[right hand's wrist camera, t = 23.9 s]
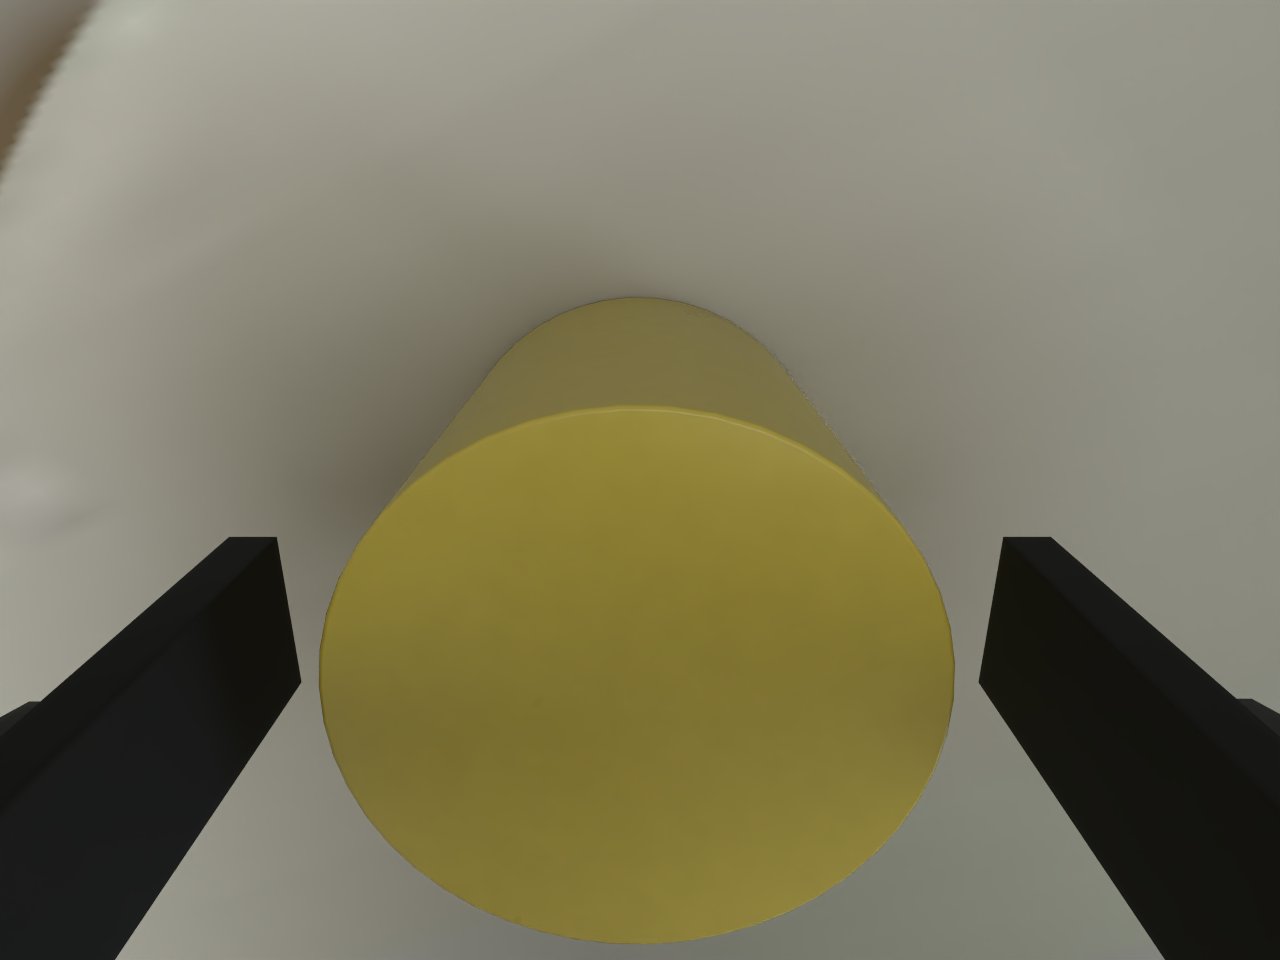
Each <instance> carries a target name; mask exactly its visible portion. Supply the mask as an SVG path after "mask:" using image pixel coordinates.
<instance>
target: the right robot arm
mask: <svg viewBox="0 0 1280 960" xmlns="http://www.w3.org/2000/svg"><path fill="white" fill-rule="evenodd" d="M300 684H301V677H300V671H299V665H298V659H297V653H296V647H295V642H294V636H293V630H292V624H291V618H290V612H289V606H288V601H287V595H286V589H285V583H284V577H283V571H282V565H281V560H280V554H279V548H278V542H277V537H229V538H227V539H226V540H225V541H224V542H223V543H222V544H221V545H219V546H218V547H217V548H216V549H215V550H214V551H213V552H211V553H210V554H209V555H208V556H207V557H206V558H205V559H203V560H202V561H201V562H200V563H199V564H198V565H196V566H195V567H194V568H193V569H192V570H191V571H190V572H188V573H187V574H186V575H185V576H184V577H183V578H182V579H180V580H179V581H178V582H177V583H176V584H175V585H174V586H172V587H171V588H170V589H169V590H168V591H167V592H166V593H164V594H163V595H162V596H161V597H160V598H159V599H158V600H156V601H155V602H154V603H153V604H152V605H151V606H149V607H148V608H147V609H146V610H145V611H144V612H143V613H141V614H140V615H139V616H138V617H137V618H136V619H135V620H133V621H132V622H131V623H130V624H129V625H128V626H127V627H125V628H124V629H123V630H122V631H121V632H120V633H119V634H117V635H116V636H115V637H114V638H113V639H112V640H111V641H109V642H108V643H107V644H106V645H105V646H104V647H102V648H101V649H100V650H99V651H98V652H97V653H96V654H94V655H93V656H92V657H91V658H90V659H89V660H88V661H86V662H85V663H84V664H83V665H82V666H81V667H80V668H78V669H77V670H76V671H75V672H74V673H73V674H72V675H70V676H69V677H68V678H67V679H66V680H65V681H63V682H62V683H61V684H60V685H59V686H58V687H57V688H55V689H54V690H53V691H52V692H51V693H50V694H49V695H47V696H46V697H45V698H44V699H43V700H42V701H41V702H28V703H26V704H24V705H22V706H20V707H18V708H17V709H15V710H13V711H11V712H9V713H7V714H6V715H4V716H2V717H0V960H115V959H116V957H117V956H118V954H119V953H120V951H121V950H122V948H123V947H124V945H125V944H126V942H127V941H128V940H129V938H130V937H131V935H132V934H133V932H134V931H135V929H136V928H137V926H138V925H139V923H140V922H141V920H142V919H143V917H144V916H145V914H146V913H147V911H148V910H149V908H150V907H151V905H152V904H153V902H154V901H155V899H156V898H157V896H158V895H159V893H160V892H161V890H162V889H163V887H164V886H165V884H166V883H167V882H168V880H169V879H170V877H171V876H172V874H173V873H174V871H175V870H176V868H177V867H178V865H179V864H180V862H181V861H182V859H183V858H184V856H185V855H186V853H187V852H188V850H189V849H190V847H191V846H192V844H193V843H194V841H195V840H196V838H197V837H198V835H199V834H200V832H201V831H202V829H203V828H204V826H205V825H206V823H207V822H208V821H209V819H210V818H211V816H212V815H213V813H214V812H215V810H216V809H217V807H218V806H219V804H220V803H221V801H222V800H223V798H224V797H225V795H226V794H227V792H228V791H229V789H230V788H231V786H232V785H233V783H234V782H235V780H236V779H237V777H238V776H239V774H240V773H241V771H242V770H243V768H244V767H245V765H246V764H247V763H248V761H249V760H250V758H251V757H252V755H253V754H254V752H255V751H256V749H257V748H258V746H259V745H260V743H261V742H262V740H263V739H264V737H265V736H266V734H267V733H268V731H269V730H270V728H271V727H272V725H273V724H274V722H275V721H276V719H277V718H278V716H279V715H280V713H281V712H282V710H283V709H284V707H285V706H286V704H287V703H288V702H289V700H290V699H291V697H292V696H293V694H294V693H295V691H296V690H297V688H298V687H299V685H300ZM979 684H980V685H981V687H982V688H983V690H984V691H985V693H986V694H987V696H988V697H989V699H990V700H991V702H992V703H993V704H994V706H995V707H996V709H997V710H998V712H999V713H1000V715H1001V716H1002V718H1003V719H1004V721H1005V722H1006V724H1007V725H1008V727H1009V728H1010V730H1011V731H1012V733H1013V734H1014V736H1015V737H1016V739H1017V740H1018V742H1019V743H1020V745H1021V746H1022V748H1023V749H1024V751H1025V752H1026V754H1027V755H1028V757H1029V758H1030V760H1031V761H1032V762H1033V764H1034V765H1035V767H1036V768H1037V770H1038V771H1039V773H1040V774H1041V776H1042V777H1043V779H1044V780H1045V782H1046V783H1047V785H1048V786H1049V788H1050V789H1051V791H1052V792H1053V794H1054V795H1055V797H1056V798H1057V800H1058V801H1059V803H1060V804H1061V806H1062V807H1063V809H1064V810H1065V812H1066V813H1067V815H1068V816H1069V818H1070V819H1071V821H1072V822H1073V823H1074V825H1075V826H1076V828H1077V829H1078V831H1079V832H1080V834H1081V835H1082V837H1083V838H1084V840H1085V841H1086V843H1087V844H1088V846H1089V847H1090V849H1091V850H1092V852H1093V853H1094V855H1095V856H1096V858H1097V859H1098V861H1099V862H1100V864H1101V865H1102V867H1103V868H1104V870H1105V871H1106V873H1107V874H1108V876H1109V877H1110V879H1111V880H1112V881H1113V883H1114V884H1115V886H1116V887H1117V889H1118V890H1119V892H1120V893H1121V895H1122V896H1123V898H1124V899H1125V901H1126V902H1127V904H1128V905H1129V907H1130V908H1131V910H1132V911H1133V913H1134V914H1135V916H1136V917H1137V919H1138V920H1139V922H1140V923H1141V925H1142V926H1143V928H1144V929H1145V931H1146V932H1147V934H1148V935H1149V937H1150V938H1151V940H1152V941H1153V942H1154V944H1155V945H1156V947H1157V948H1158V950H1159V951H1160V953H1161V954H1162V956H1163V957H1164V959H1165V960H1280V714H1279V713H1277V712H1275V711H1273V710H1271V709H1270V708H1268V707H1266V706H1264V705H1262V704H1260V703H1258V702H1257V701H1255V700H1253V699H1236V698H1235V697H1234V696H1233V695H1231V694H1230V693H1229V692H1228V691H1227V690H1226V689H1225V688H1223V687H1222V686H1221V685H1220V684H1219V683H1218V682H1217V681H1215V680H1214V679H1213V678H1212V677H1211V676H1210V675H1208V674H1207V673H1206V672H1205V671H1204V670H1203V669H1202V668H1200V667H1199V666H1198V665H1197V664H1196V663H1195V662H1194V661H1192V660H1191V659H1190V658H1189V657H1188V656H1187V655H1186V654H1184V653H1183V652H1182V651H1181V650H1180V649H1179V648H1178V647H1176V646H1175V645H1174V644H1173V643H1172V642H1171V641H1170V640H1168V639H1167V638H1166V637H1165V636H1164V635H1163V634H1161V633H1160V632H1159V631H1158V630H1157V629H1156V628H1155V627H1153V626H1152V625H1151V624H1150V623H1149V622H1148V621H1147V620H1145V619H1144V618H1143V617H1142V616H1141V615H1140V614H1139V613H1137V612H1136V611H1135V610H1134V609H1133V608H1132V607H1131V606H1129V605H1128V604H1127V603H1126V602H1125V601H1124V600H1123V599H1121V598H1120V597H1119V596H1118V595H1117V594H1116V593H1114V592H1113V591H1112V590H1111V589H1110V588H1109V587H1108V586H1106V585H1105V584H1104V583H1103V582H1102V581H1101V580H1100V579H1098V578H1097V577H1096V576H1095V575H1094V574H1093V573H1092V572H1090V571H1089V570H1088V569H1087V568H1086V567H1085V566H1084V565H1082V564H1081V563H1080V562H1079V561H1078V560H1077V559H1075V558H1074V557H1073V556H1072V555H1071V554H1070V553H1069V552H1067V551H1066V550H1065V549H1064V548H1063V547H1062V546H1061V545H1059V544H1058V543H1057V542H1056V541H1055V540H1054V539H1053V538H1051V537H1003V542H1002V548H1001V554H1000V560H999V566H998V571H997V577H996V583H995V589H994V595H993V601H992V607H991V612H990V618H989V624H988V630H987V636H986V642H985V648H984V653H983V659H982V665H981V671H980V677H979Z"/></svg>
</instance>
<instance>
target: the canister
mask: <svg viewBox="0 0 1280 960" xmlns="http://www.w3.org/2000/svg"><path fill="white" fill-rule="evenodd" d="M954 672H955V661H954V653H953V645H952V637H951V629H950V625H949V621H948V618H947V614H946V611H945V607H944V604H943V600H942V597H941V593H940V591H939V588H938V586H937V584H936V582H935V580H934V578H933V576H932V573H931V571H930V569H929V567H928V565H927V563H926V561H925V558H924V557H923V555H922V554H921V552H920V551H919V549H918V548H917V546H916V545H915V543H914V542H913V540H912V539H911V537H910V536H909V534H908V533H907V531H906V530H905V528H904V527H903V525H902V524H901V522H900V521H899V520H898V519H897V517H896V516H895V515H894V513H893V512H892V511H891V509H890V508H889V507H888V505H887V504H886V503H885V501H884V500H883V499H882V497H881V496H880V495H879V493H878V492H877V491H876V489H875V488H874V487H873V486H872V484H871V483H870V482H869V480H868V479H867V478H866V476H865V475H864V474H863V472H862V471H861V470H860V468H859V467H858V466H857V464H856V463H855V462H854V460H853V459H852V458H851V456H850V455H849V454H848V452H847V451H846V450H845V449H844V447H843V446H842V445H841V443H840V442H839V441H838V439H837V438H836V437H835V435H834V434H833V433H832V431H831V430H830V429H829V427H828V426H827V425H826V423H825V422H824V421H823V419H822V418H821V417H820V416H819V414H818V413H817V412H816V410H815V409H814V408H813V406H812V405H811V404H810V402H809V401H808V400H807V398H806V397H805V396H804V394H803V393H802V392H801V390H800V389H799V388H798V386H797V385H796V384H795V383H794V381H793V380H792V379H791V377H790V376H789V375H788V373H787V372H786V371H785V369H784V368H783V367H782V365H781V364H780V363H779V362H778V361H777V360H776V359H775V358H774V357H773V355H772V354H771V353H770V352H769V351H768V350H767V349H766V348H765V347H764V346H763V345H762V344H760V343H759V342H758V341H757V340H756V339H754V338H753V337H752V336H751V335H750V334H748V333H747V332H746V331H744V330H742V329H741V328H739V327H738V326H736V325H734V324H733V323H731V322H730V321H728V320H726V319H724V318H722V317H720V316H717V315H715V314H713V313H711V312H709V311H706V310H704V309H701V308H698V307H694V306H691V305H688V304H684V303H681V302H675V301H669V300H663V299H657V298H623V299H614V300H605V301H601V302H597V303H593V304H589V305H585V306H581V307H578V308H576V309H573V310H570V311H568V312H565V313H563V314H560V315H558V316H556V317H554V318H552V319H551V320H549V321H547V322H545V323H543V324H542V325H540V326H538V327H536V328H535V329H534V330H532V331H531V332H530V333H528V334H527V335H526V336H524V337H523V338H522V339H520V340H519V341H518V342H517V343H516V344H515V345H514V346H513V347H512V348H511V349H510V350H509V351H508V352H507V353H506V354H505V355H504V356H503V357H502V358H501V359H500V360H499V361H498V362H497V364H496V365H495V366H494V368H493V369H492V370H491V371H490V373H489V374H488V375H487V377H486V378H485V379H484V380H483V382H482V383H481V384H480V386H479V387H478V388H477V389H476V391H475V392H474V393H473V395H472V396H471V397H470V398H469V400H468V401H467V402H466V404H465V405H464V406H463V407H462V409H461V410H460V411H459V413H458V414H457V415H456V417H455V418H454V419H453V420H452V422H451V423H450V424H449V426H448V427H447V428H446V429H445V431H444V432H443V433H442V435H441V436H440V437H439V438H438V440H437V441H436V442H435V444H434V445H433V446H432V447H431V449H430V450H429V451H428V453H427V454H426V455H425V456H424V458H423V459H422V460H421V462H420V463H419V464H418V466H417V467H416V468H415V469H414V471H413V472H412V473H411V475H410V476H409V477H408V478H407V480H406V481H405V482H404V484H403V485H402V486H401V487H400V489H399V490H398V491H397V493H396V494H395V495H394V496H393V498H392V499H391V500H390V502H389V503H388V504H387V505H386V507H385V508H384V509H383V511H382V512H381V513H380V515H379V516H378V517H377V519H376V520H375V521H374V523H373V524H372V525H371V526H370V528H369V529H368V530H367V532H366V533H365V534H364V536H363V537H362V538H361V540H360V541H359V542H358V544H357V545H356V547H355V549H354V551H353V553H352V555H351V557H350V558H349V560H348V562H347V564H346V566H345V568H344V570H343V571H342V573H341V575H340V577H339V579H338V582H337V585H336V588H335V590H334V593H333V596H332V599H331V602H330V605H329V607H328V610H327V613H326V618H325V624H324V629H323V635H322V640H321V646H320V661H319V690H320V698H321V705H322V713H323V721H324V725H325V728H326V732H327V735H328V739H329V742H330V746H331V749H332V752H333V756H334V758H335V760H336V762H337V765H338V767H339V769H340V771H341V773H342V776H343V778H344V780H345V782H346V784H347V787H348V788H349V790H350V791H351V793H352V795H353V796H354V798H355V799H356V801H357V803H358V804H359V806H360V807H361V809H362V810H363V812H364V814H365V815H366V817H367V818H368V819H369V820H370V821H371V823H372V824H373V825H374V826H375V827H376V829H377V830H378V831H379V832H380V833H381V835H382V836H383V837H384V838H385V839H386V841H387V842H388V843H389V844H390V845H391V846H392V847H393V848H394V849H395V850H396V851H397V852H399V853H400V854H401V855H402V856H403V857H404V858H405V859H406V860H407V861H408V862H409V863H410V864H411V865H412V866H414V867H415V868H416V869H417V870H419V871H420V872H421V873H423V874H424V875H426V876H427V877H428V878H430V879H431V880H432V881H434V882H435V883H436V884H438V885H439V886H440V887H442V888H443V889H445V890H447V891H448V892H450V893H452V894H454V895H455V896H457V897H459V898H461V899H462V900H464V901H466V902H468V903H469V904H471V905H473V906H475V907H477V908H479V909H482V910H484V911H486V912H488V913H491V914H493V915H495V916H497V917H500V918H502V919H504V920H506V921H509V922H513V923H516V924H519V925H522V926H525V927H528V928H531V929H534V930H537V931H540V932H545V933H549V934H554V935H559V936H563V937H568V938H572V939H578V940H587V941H595V942H604V943H614V944H657V943H669V942H682V941H689V940H695V939H700V938H706V937H712V936H717V935H722V934H725V933H729V932H733V931H736V930H740V929H743V928H747V927H750V926H754V925H757V924H759V923H762V922H764V921H767V920H769V919H772V918H774V917H777V916H779V915H782V914H785V913H787V912H789V911H791V910H793V909H795V908H797V907H799V906H801V905H803V904H805V903H806V902H808V901H810V900H812V899H814V898H816V897H818V896H820V895H821V894H823V893H824V892H826V891H827V890H829V889H830V888H832V887H833V886H835V885H836V884H838V883H839V882H841V881H842V880H844V879H845V878H847V877H848V876H850V875H851V874H852V873H853V872H854V871H855V870H857V869H858V868H859V867H860V866H861V865H862V864H864V863H865V862H866V861H867V860H868V859H869V858H871V857H872V856H873V855H874V854H875V853H876V852H877V851H878V850H879V849H880V848H881V847H882V846H883V845H884V844H885V842H886V841H887V840H888V839H889V838H890V837H891V836H892V835H893V834H894V833H895V832H896V830H897V829H898V828H899V827H900V826H901V824H902V823H903V822H904V820H905V819H906V817H907V816H908V814H909V813H910V812H911V810H912V809H913V807H914V806H915V805H916V803H917V802H918V800H919V799H920V797H921V795H922V793H923V791H924V789H925V787H926V785H927V783H928V782H929V780H930V778H931V776H932V774H933V772H934V770H935V768H936V765H937V762H938V759H939V757H940V754H941V751H942V748H943V745H944V742H945V739H946V736H947V732H948V727H949V722H950V716H951V711H952V706H953V700H954Z"/></svg>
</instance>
